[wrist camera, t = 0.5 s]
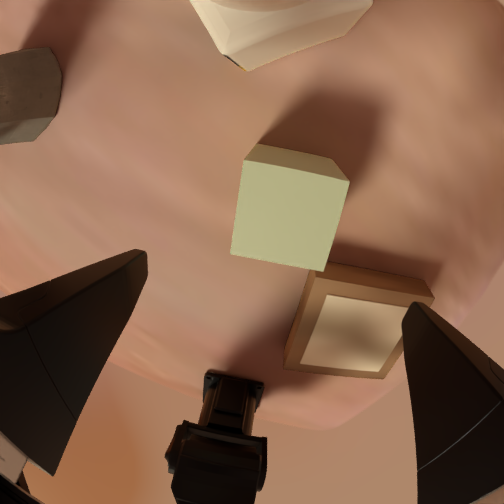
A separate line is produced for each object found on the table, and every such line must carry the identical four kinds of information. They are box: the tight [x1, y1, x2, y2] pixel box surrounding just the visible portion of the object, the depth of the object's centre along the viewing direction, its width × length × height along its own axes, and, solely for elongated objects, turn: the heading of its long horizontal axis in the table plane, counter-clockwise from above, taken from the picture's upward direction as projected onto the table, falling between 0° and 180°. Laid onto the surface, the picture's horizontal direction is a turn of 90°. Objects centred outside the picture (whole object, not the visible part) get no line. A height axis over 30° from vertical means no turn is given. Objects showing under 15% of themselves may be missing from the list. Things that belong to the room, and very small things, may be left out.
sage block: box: [230, 144, 350, 272], centre depth 17 cm, size 5×5×6 cm
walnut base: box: [283, 261, 435, 379], centre depth 23 cm, size 10×10×3 cm
